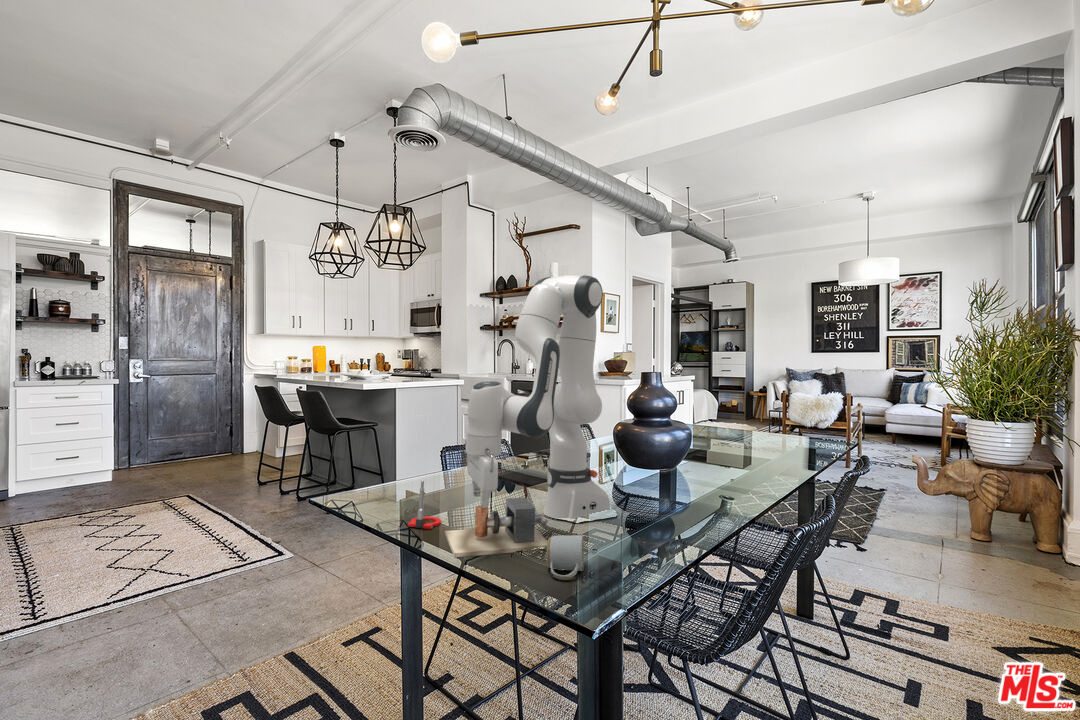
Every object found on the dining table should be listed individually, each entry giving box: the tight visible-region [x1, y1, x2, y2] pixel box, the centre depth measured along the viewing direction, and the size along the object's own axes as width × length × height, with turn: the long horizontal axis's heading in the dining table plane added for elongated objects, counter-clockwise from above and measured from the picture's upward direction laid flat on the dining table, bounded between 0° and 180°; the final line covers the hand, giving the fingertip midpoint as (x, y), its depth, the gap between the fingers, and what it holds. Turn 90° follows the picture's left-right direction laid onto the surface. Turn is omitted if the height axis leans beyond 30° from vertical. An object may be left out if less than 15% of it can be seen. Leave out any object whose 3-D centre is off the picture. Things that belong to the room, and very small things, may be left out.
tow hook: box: [407, 480, 442, 530], centre depth 148 cm, size 8×13×9 cm
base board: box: [444, 526, 548, 559], centre depth 135 cm, size 24×16×1 cm, turn 108°
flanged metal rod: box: [474, 505, 548, 537], centre depth 136 cm, size 19×6×7 cm, turn 108°
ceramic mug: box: [546, 534, 585, 577], centre depth 118 cm, size 11×8×8 cm
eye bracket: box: [504, 497, 536, 543], centre depth 137 cm, size 5×10×8 cm, turn 18°
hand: (480, 500), depth 133 cm, fingers open, 8 cm apart
